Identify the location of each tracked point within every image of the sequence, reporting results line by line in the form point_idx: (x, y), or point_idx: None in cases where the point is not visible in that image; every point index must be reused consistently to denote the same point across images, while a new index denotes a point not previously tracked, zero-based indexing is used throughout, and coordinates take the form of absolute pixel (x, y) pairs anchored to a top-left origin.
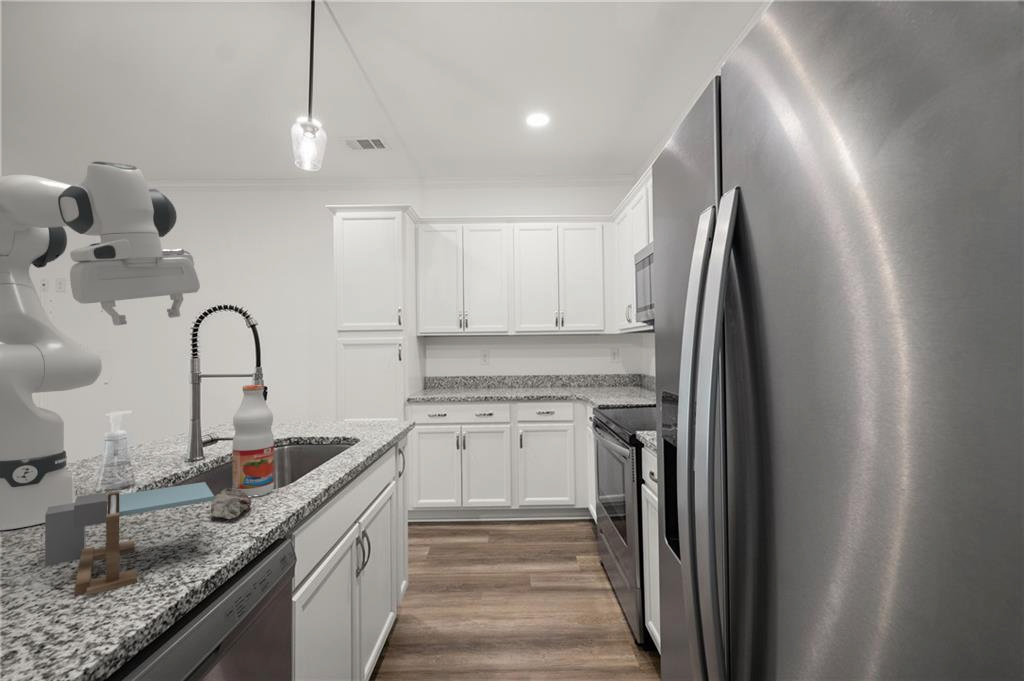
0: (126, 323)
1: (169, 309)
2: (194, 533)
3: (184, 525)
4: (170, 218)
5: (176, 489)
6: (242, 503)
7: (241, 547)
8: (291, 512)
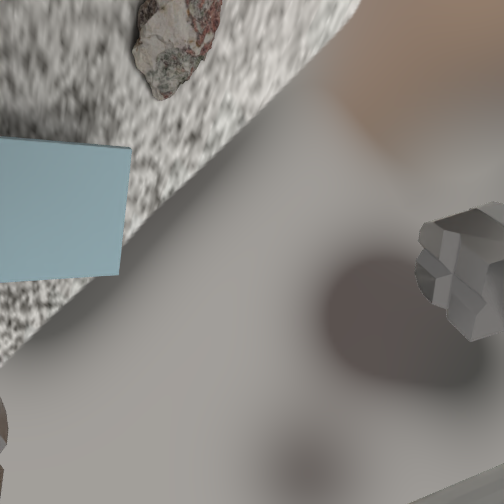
0: (5, 414)
1: (481, 298)
2: (87, 97)
3: (80, 21)
4: None
5: (70, 177)
6: (194, 56)
7: (130, 229)
8: (244, 123)
